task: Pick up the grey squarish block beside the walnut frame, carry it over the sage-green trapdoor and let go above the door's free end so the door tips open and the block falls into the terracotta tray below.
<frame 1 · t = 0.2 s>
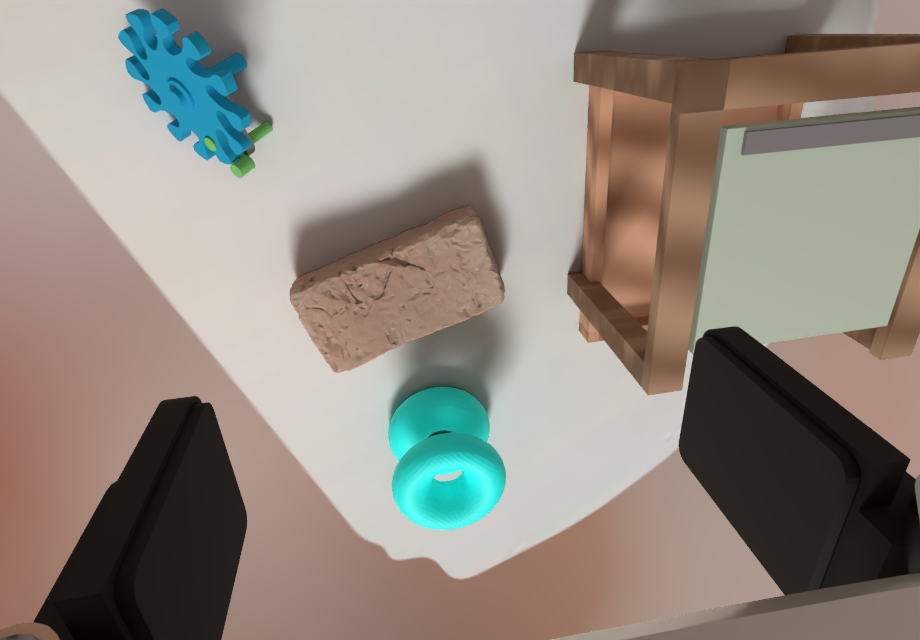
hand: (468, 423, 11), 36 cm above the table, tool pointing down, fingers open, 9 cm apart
gear: (207, 93, 40), on the table
donuts: (437, 421, 56), on the table
trapdoor: (812, 237, 34), point 16 cm above the table, hinge at 0.0°
frame: (680, 170, 48), on the table
brick: (399, 277, 49), on the table
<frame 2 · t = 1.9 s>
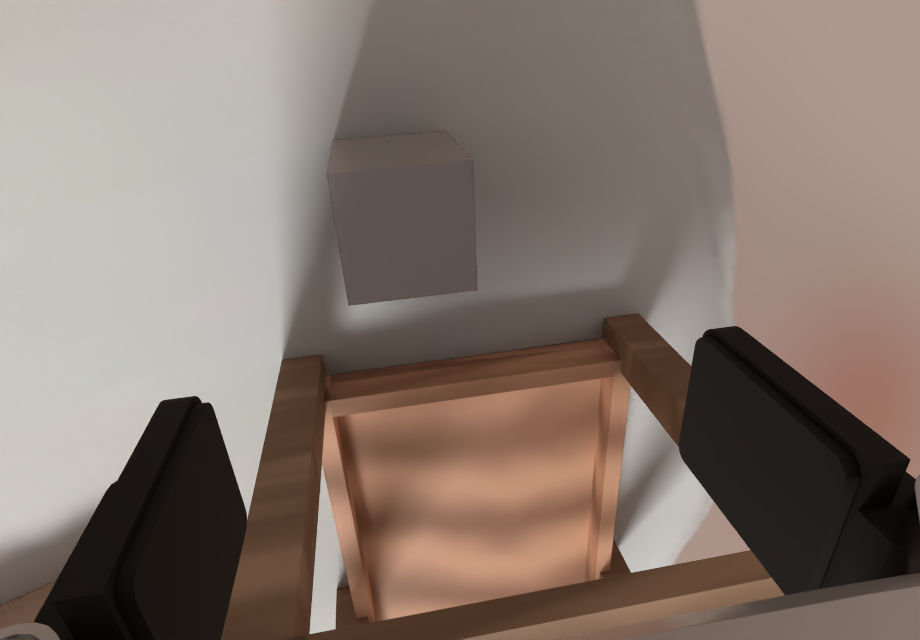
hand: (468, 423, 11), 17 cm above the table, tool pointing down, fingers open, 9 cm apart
frame: (474, 472, 35), on the table
brick: (93, 611, 35), on the table
grey squarish block: (395, 190, 26), on the table
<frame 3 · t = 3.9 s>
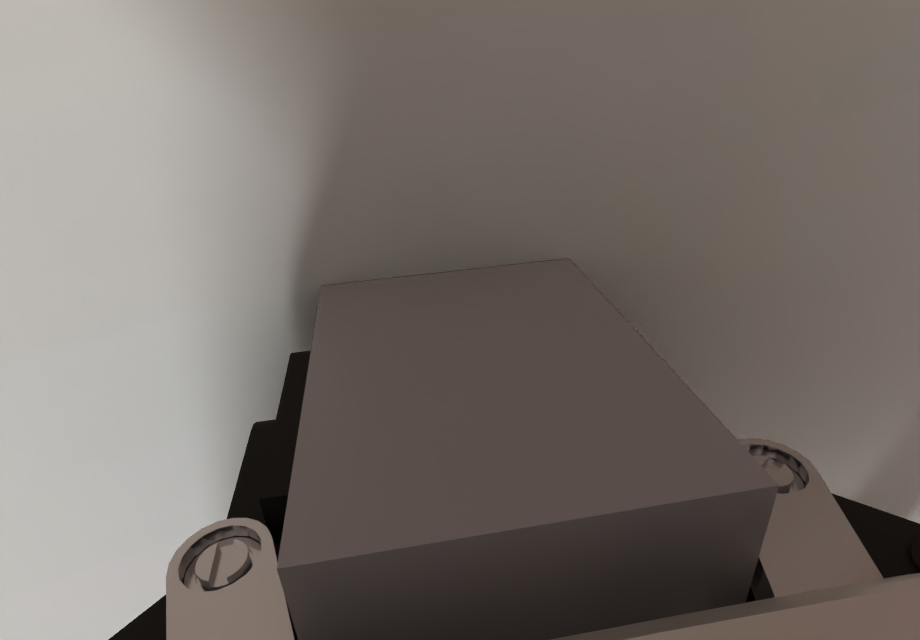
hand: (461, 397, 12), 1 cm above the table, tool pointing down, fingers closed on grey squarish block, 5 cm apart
grey squarish block: (455, 376, 12), on the table, touching gripper
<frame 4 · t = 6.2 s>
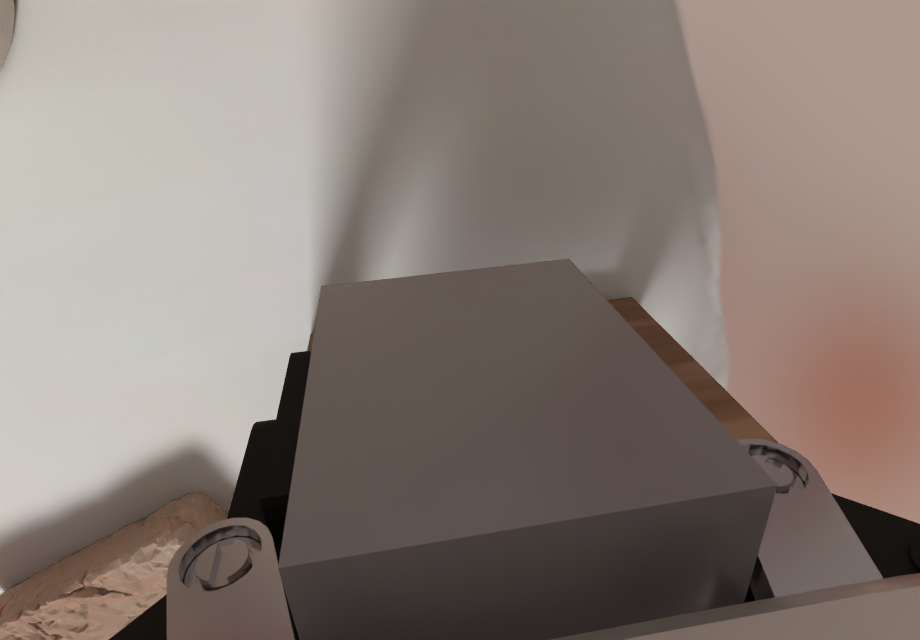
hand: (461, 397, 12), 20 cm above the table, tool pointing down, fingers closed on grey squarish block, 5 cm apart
frame: (482, 443, 38), on the table
brick: (139, 567, 39), on the table
grey squarish block: (455, 376, 12), point 19 cm above the table, touching gripper
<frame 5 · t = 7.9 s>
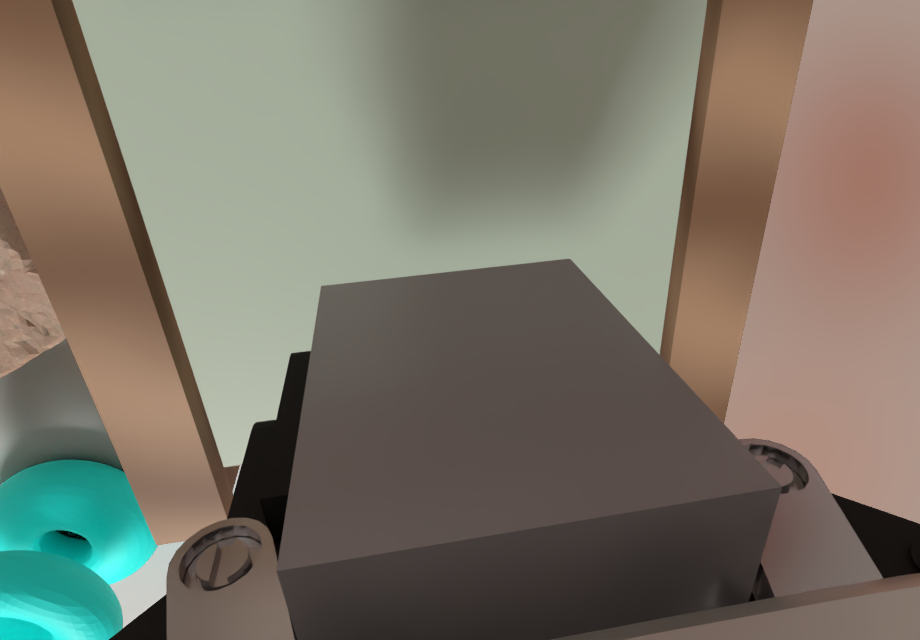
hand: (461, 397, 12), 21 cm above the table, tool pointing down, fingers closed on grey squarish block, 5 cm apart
donuts: (87, 506, 37), on the table
trapdoor: (430, 223, 15), point 16 cm above the table, hinge at 0.0°
frame: (395, 119, 29), on the table
grey squarish block: (455, 377, 12), point 21 cm above the table, touching gripper
when the fingers open (19 cm above the table, at t = 8.6 s): grey squarish block drops 15 cm and tips over, resting on frame.
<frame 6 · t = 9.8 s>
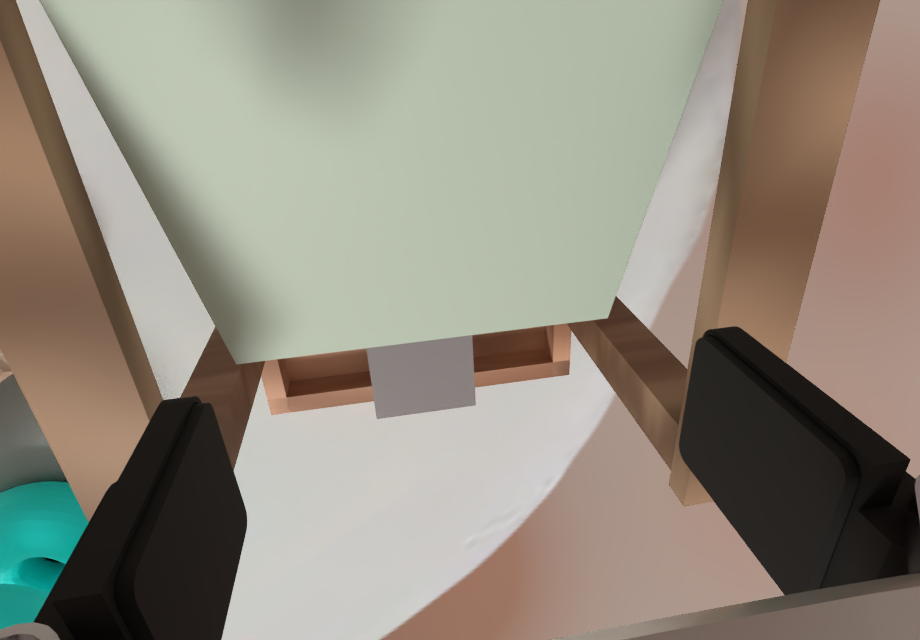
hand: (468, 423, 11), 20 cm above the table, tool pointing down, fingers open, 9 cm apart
donuts: (71, 529, 35), on the table
trapdoor: (420, 183, 16), point 13 cm above the table, hinge at -24.4°
frame: (395, 120, 27), on the table
grey squarish block: (410, 274, 27), point 3 cm above the table, tilted 90°, touching frame
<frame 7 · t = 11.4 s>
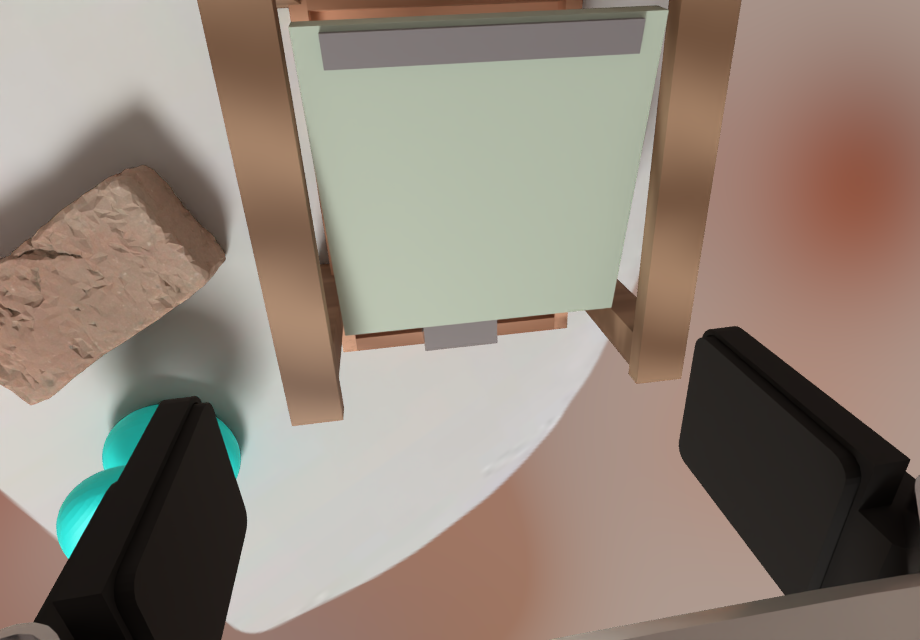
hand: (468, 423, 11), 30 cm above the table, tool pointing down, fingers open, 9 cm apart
donuts: (180, 445, 46), on the table
trapdoor: (482, 193, 25), point 15 cm above the table, hinge at -11.6°
frame: (442, 134, 37), on the table
brick: (99, 272, 39), on the table
grey squarish block: (452, 245, 38), point 3 cm above the table, tilted 90°, touching frame
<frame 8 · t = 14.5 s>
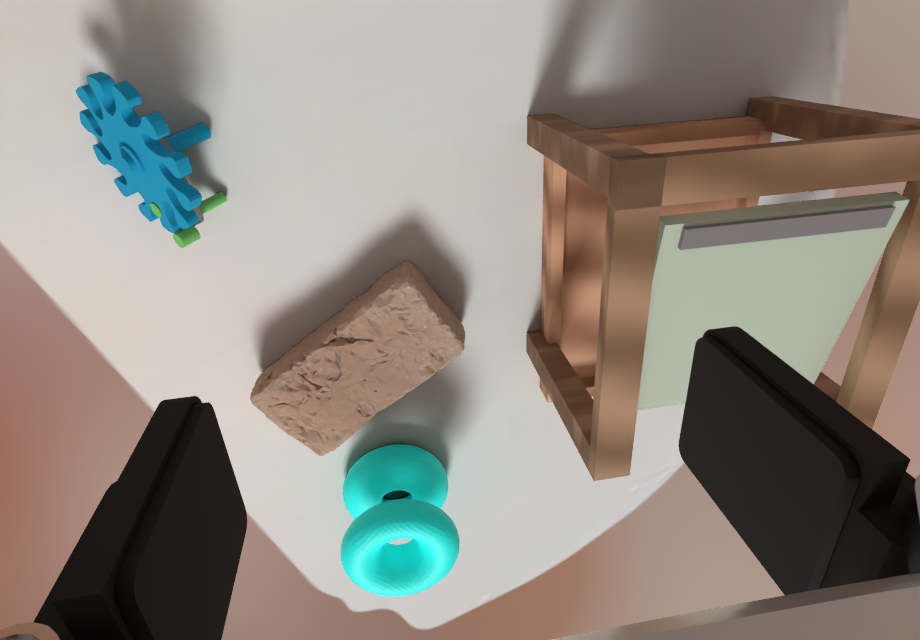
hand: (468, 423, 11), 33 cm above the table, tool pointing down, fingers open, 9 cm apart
gear: (164, 154, 38), on the table
donuts: (395, 476, 55), on the table
trapdoor: (747, 313, 34), point 15 cm above the table, hinge at -10.7°
frame: (640, 230, 46), on the table
brick: (360, 345, 48), on the table
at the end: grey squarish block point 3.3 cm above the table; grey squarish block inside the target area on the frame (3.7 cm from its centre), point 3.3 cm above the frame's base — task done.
